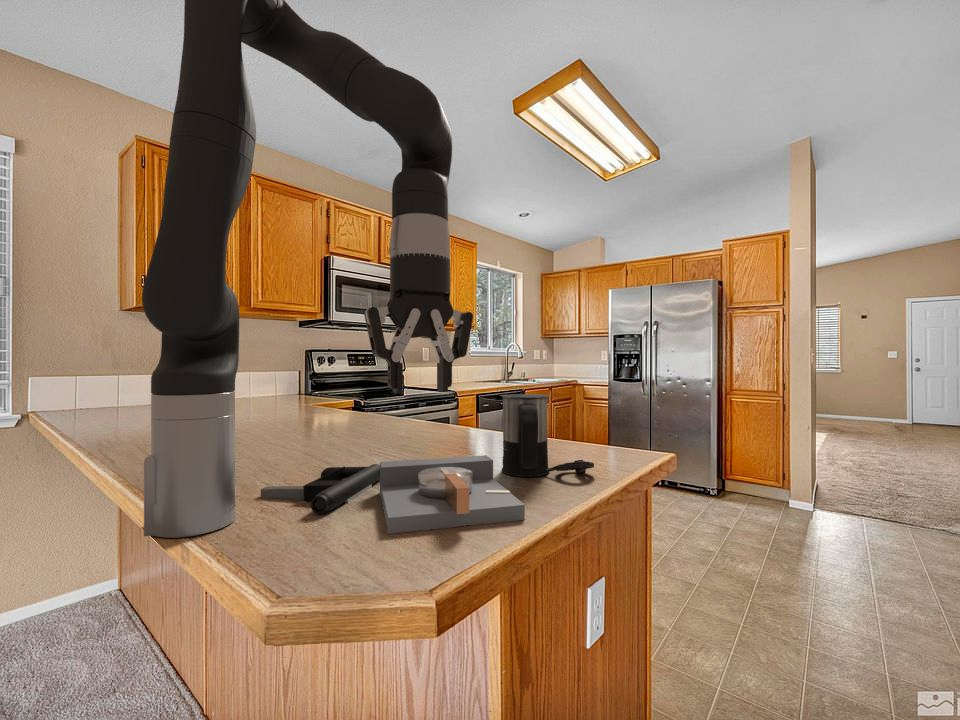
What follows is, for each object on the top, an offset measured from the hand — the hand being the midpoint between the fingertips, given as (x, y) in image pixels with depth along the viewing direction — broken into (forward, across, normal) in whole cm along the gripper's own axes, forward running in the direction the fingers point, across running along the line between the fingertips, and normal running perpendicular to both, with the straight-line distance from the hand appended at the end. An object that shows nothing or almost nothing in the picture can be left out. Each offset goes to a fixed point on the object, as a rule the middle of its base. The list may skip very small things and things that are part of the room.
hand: (420, 391), depth 56 cm
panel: (+18, +6, +8) cm, 20 cm away
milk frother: (+18, +30, +17) cm, 39 cm away
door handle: (+18, -9, +23) cm, 31 cm away
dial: (+15, +6, +5) cm, 17 cm away
